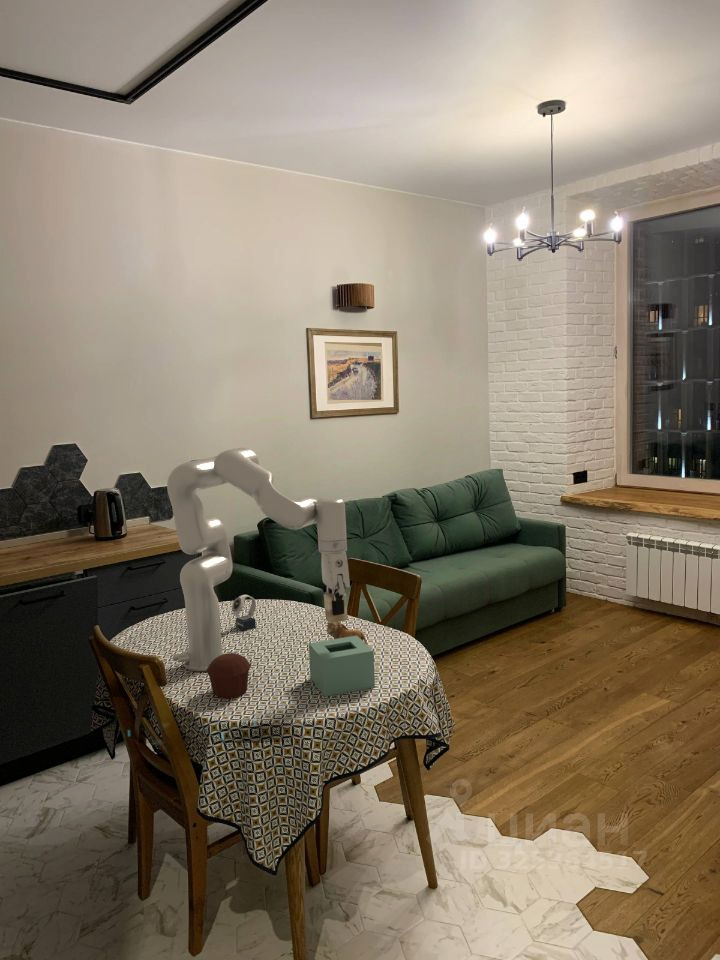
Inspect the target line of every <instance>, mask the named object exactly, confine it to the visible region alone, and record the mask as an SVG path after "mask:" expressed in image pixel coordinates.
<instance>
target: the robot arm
mask: <svg viewBox="0 0 720 960" xmlns="http://www.w3.org/2000/svg"><path fill="white" fill-rule="evenodd" d="M259 464H260V462H259V457H258V456H257V454H256V453H255V452H254V451H253V450H251V449H250V448H247V447H237V448H233V449H227V450H224V451H222V452H220V453H219V454H218V455H216V456H212V457H207V458H202V459H196V460H195V459H194V460H191V461H186V462H183V463H181V464H179V465H177V466H176V467H174V468H173V470H172V471H171V472H170V474H169V476H168V478H167V483H166V486H167V487H166V488H167V496H168V498H169V500H170V504H171V507H172V513H173V519H174V524H175V525H174V526H175V529H176V530H175V531H176V534H177V535H176V536H177V539H178V545H179V547H180V549H181V551H182V552H183V553H185V554H187V555H196V554H200V553H202V555H200V556H198V557H197V558H194V559H191V560H189V561H188V562H187V563H185V564H184V565H183V567H182V568H181V570H180V573H179V582H180V585H181V589H182V593H183V596H184V597H183V598H184V606H185V607H184V608H185V616H186V629H187V642H188V643H187V644H188V645H187V646H188V647H187V648H186V651H183V653H173V654H172V662H176V661H178V662H177V663H183V665H184V668H185V669H186V670H188V669H189V670H188V671H192V672H206V670H207V668H208V666H209V665H210V664H211V662H212V661H213V660H214V659H215V658H217V657H218V656H220V655H223V654H224V653H223V646H222V644H223V643H222V632H221V614H220V603H219V599H218V596H217V594H216V593H215V590H214V587H215V586H217V585H220V584H221V583H223V582H225V581H227V580H229V578H230V577H231V576H232V573H233V568H234V567H233V565H234V564H233V557H232V552H231V547H230V542H229V537H228V532H227V528H226V527H225V524H224V523H223V522H222V521H221V519H219V518H218V517H216V516H210V515H209V516H208V515H207V516H205V512H204V510H205V509H204V505H203V503H202V501H201V499H200V497H199V496H198V494H197V491H200V490H206V489H211V488H214V487H217V486H221V485H225V484H230V485H231V486H233V487H235V488H236V489H238V490H240V491H242V492H243V493H244V494H246V495H248V496H249V497H251V498H253V499H254V501H255V503H256V505H257V506H258V508H259V509H260V511H261V512H262V513H263V514H264V515H265V516H266V517H268V518H269V519H271V520H272V521H274V522H276V523H277V524H279V525H280V526H282V527H284V528H286V529H288V530H295V531H296V530H301V529H304V528H305V527H307V526H311V525H314V524H316V525H317V545H318V553H320V554H321V563H320V564H321V576H322V577H321V579H322V583H323V584H324V585H325V586H326V594H329V593H332V595H333V600H332V614H333V615H334V616H335V615H341V614H344V594H346V590H345V588H346V589H349V588H350V586H351V585H350V584H351V583H350V572H349V563H348V557H347V551H348V544H347V543H348V542H347V540H348V539H347V538H348V537H347V521H346V505H345V501H344V500H343V499H341V498H337V497H327V498H323V497H317V496H309V495H307V496H304V497H300V498H298V499H294V500H292V499H291V498H288V497H287V496H286V495H284V494H282V493H280V492H279V491H278V490H277V489H276V488H275V487H274V486H273V485H274V475H273V473H272V472H271V471H269V470H268V469H266V468H264V467H263V466H261V465H259ZM335 592H337V593H335Z"/></svg>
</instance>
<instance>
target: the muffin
mask: <svg viewBox="0 0 720 960" xmlns="http://www.w3.org/2000/svg"><path fill="white" fill-rule="evenodd" d="M251 667H252V665H251V663H250V662H249V661H248V659H247V657H245V656H244V655H241V654H240V653H235V652H226V653H223V655H220V656H218V657H217V658H215V659H214V660H213V661H212V662H211V664H210V665H209V666H208V668H207V670H206V671H205V672H206V674H207V675H208V676H209V681H210V686H211V691H212V692H213V696H215V695H216V696H215V697H216V698H218V699H225V700H230V699H235V698H240V697H241V696H243V695H245V694H247V691H248V686H249V684H248V683H249V671H250V669H251Z"/></svg>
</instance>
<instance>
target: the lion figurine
mask: <svg viewBox="0 0 720 960" xmlns="http://www.w3.org/2000/svg"><path fill="white" fill-rule="evenodd" d="M326 623H327V626H326V633H327V635H328V636H331V637H332V638H333V639H339V638H345V637H351V636H358V637H359V638H360V639H361V640H362V641H363V642H365V643H366V644H367V645H368V643H367V640H366V636H365V634H364V632H363V631H362V630H360V629H350V628H347V626H346V625H344V624H343V623H341V621H340V622H334V623H329V622H328V621H327V622H326Z"/></svg>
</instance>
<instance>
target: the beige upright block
mask: <svg viewBox="0 0 720 960" xmlns="http://www.w3.org/2000/svg"><path fill="white" fill-rule="evenodd" d="M335 593H337V592H335ZM323 599H324V610H325V614H324V615H325V616H324V617H325V621H327V622H329V623H334V622H340V623H341V622H345V621H348V605H347V594H346V593H345V594H344V614H341V615H335V616H334V615H333V614H332V600H333V595H332V593H329V594H327V593H324V594H323Z"/></svg>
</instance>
